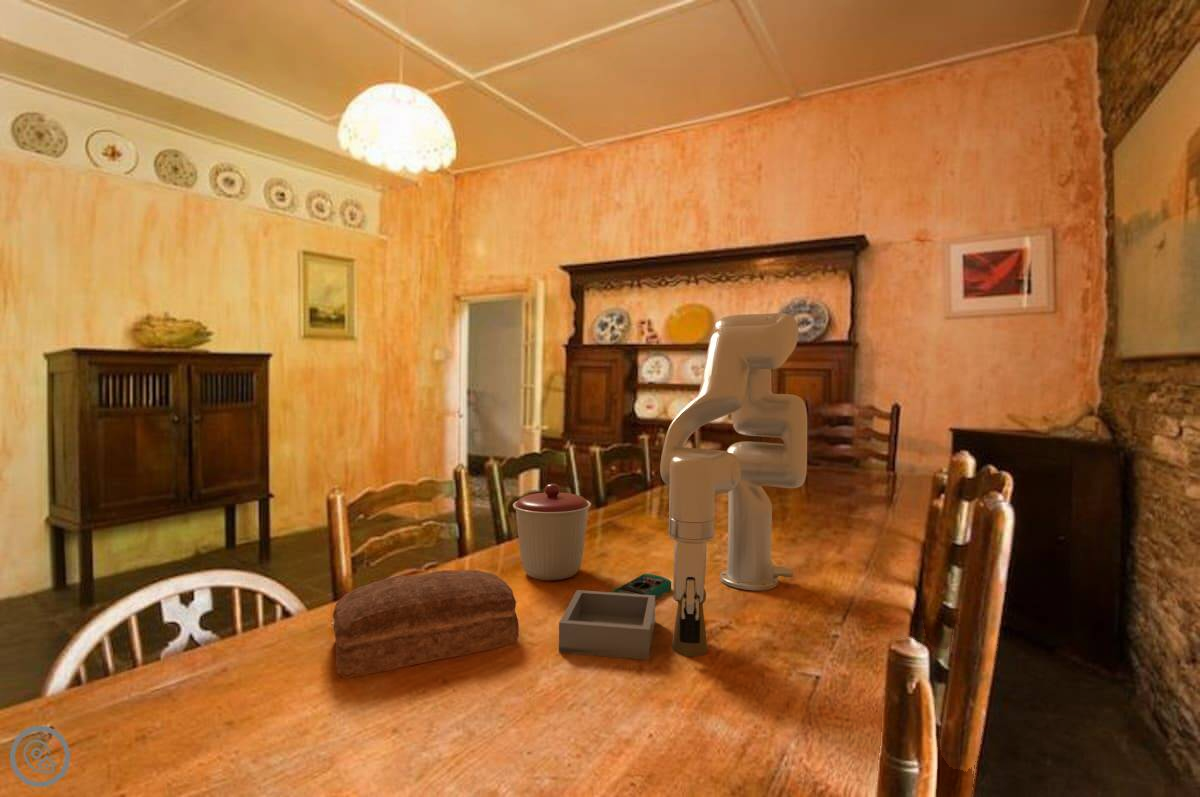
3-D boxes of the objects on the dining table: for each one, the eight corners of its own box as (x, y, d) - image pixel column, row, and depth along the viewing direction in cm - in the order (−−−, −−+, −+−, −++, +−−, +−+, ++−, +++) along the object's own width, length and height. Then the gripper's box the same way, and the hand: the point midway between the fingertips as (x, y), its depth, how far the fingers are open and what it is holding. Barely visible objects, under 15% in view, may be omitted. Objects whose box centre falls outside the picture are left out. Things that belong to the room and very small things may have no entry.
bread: (332, 638, 101) (331, 574, 101) (496, 610, 114) (496, 553, 113) (335, 685, 86) (334, 609, 85) (524, 646, 99) (524, 580, 98)
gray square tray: (654, 621, 108) (655, 595, 108) (649, 660, 94) (649, 629, 93) (576, 615, 111) (576, 590, 111) (558, 652, 96) (559, 622, 96)
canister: (573, 591, 123) (574, 493, 122) (498, 581, 129) (498, 487, 128) (600, 566, 140) (601, 479, 140) (533, 558, 146) (533, 475, 145)
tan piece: (668, 640, 101) (669, 578, 100) (702, 639, 101) (703, 577, 101) (675, 657, 95) (676, 590, 94) (712, 655, 95) (713, 590, 95)
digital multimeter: (673, 590, 126) (673, 577, 125) (638, 613, 113) (638, 598, 113) (643, 584, 130) (644, 571, 130) (607, 605, 117) (607, 590, 117)
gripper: (670, 515, 107) (669, 609, 107) (666, 541, 89) (665, 653, 90) (712, 517, 105) (710, 612, 106) (716, 544, 88) (714, 657, 89)
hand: (689, 630), depth 98 cm, fingers open, 7 cm apart
